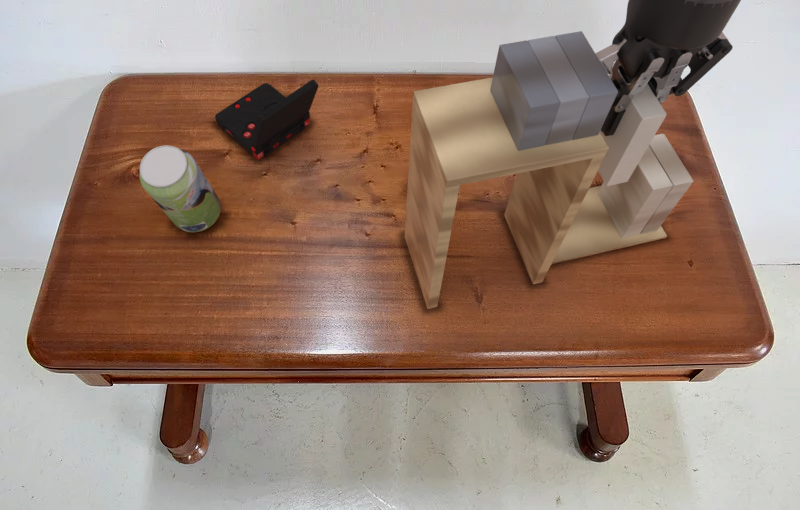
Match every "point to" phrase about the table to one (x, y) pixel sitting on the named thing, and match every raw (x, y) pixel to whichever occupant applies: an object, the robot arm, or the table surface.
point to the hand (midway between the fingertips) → (619, 125)
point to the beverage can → (179, 188)
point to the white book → (631, 137)
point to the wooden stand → (509, 149)
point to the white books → (628, 206)
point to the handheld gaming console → (267, 117)
